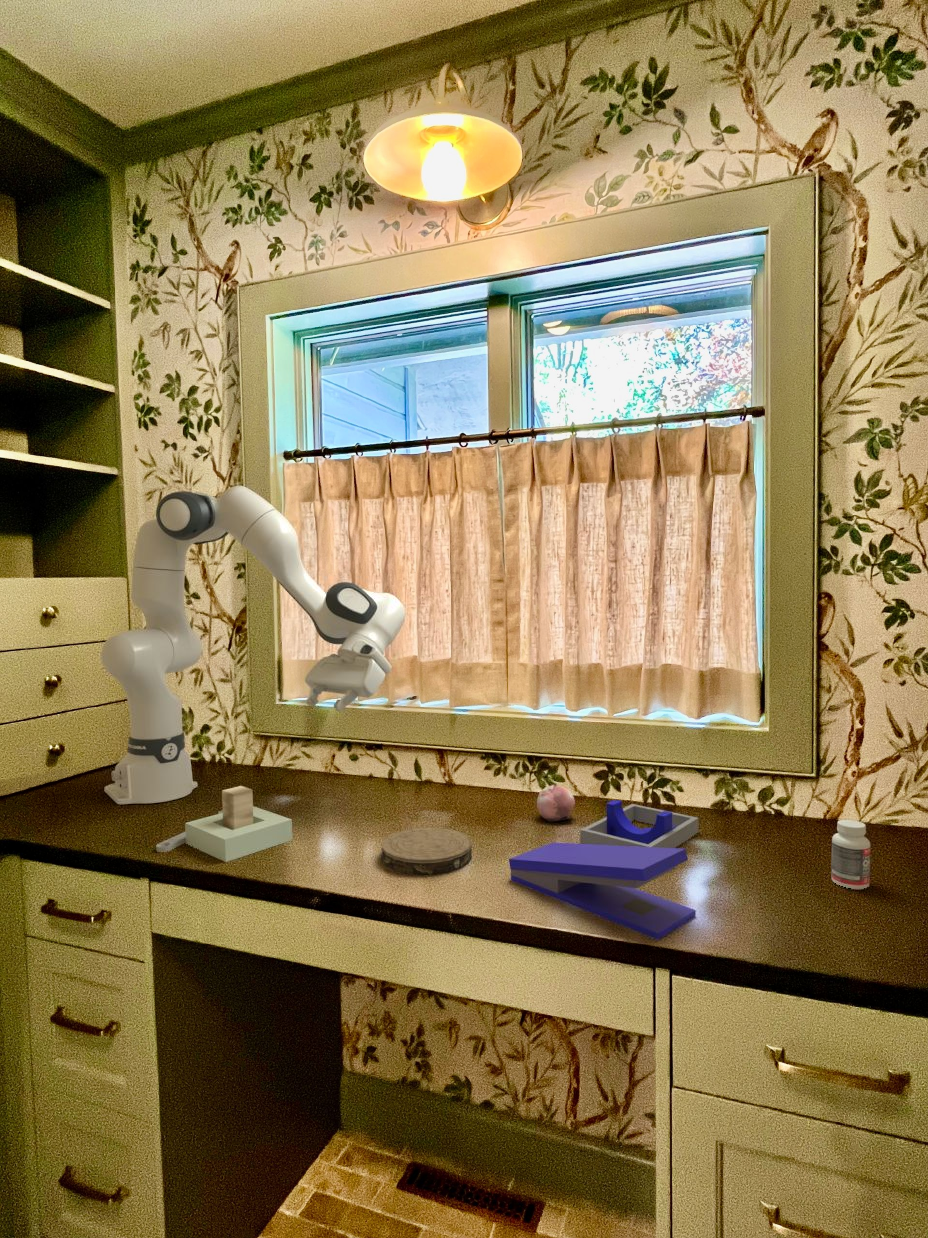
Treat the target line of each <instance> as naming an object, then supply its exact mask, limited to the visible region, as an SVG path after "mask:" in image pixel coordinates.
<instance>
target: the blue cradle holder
mask: <svg viewBox="0 0 928 1238" xmlns="http://www.w3.org/2000/svg"><path fill="white" fill-rule="evenodd" d="M622 802H623V800H618V799H614V800H611V801H609V802H607V803H606V817H607V834H608V835H612V836H616V837H620V838H624V839H628V840H632V841H636V842H640V843H644V844H650V843H651V842H653V841H654V840H656V839H658V838H659V837H661V836H663V835H664V834H666V833H668V832H669V831H671V830H673V829H675V828H676V827H675V826H672V812H673V811H668V812H667V810H664V811H663V812H661V813H659V814H657V818H656V823H655V825H653V827H645V828H643V829H642V828H639V827H637V826H636V825H634V824H633V822H630V821H629V820H628V819H627V817H626V816H625V814H624V811H623V808H624V807H623V803H622Z"/></svg>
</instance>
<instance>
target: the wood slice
mask: <svg viewBox="0 0 928 1238" xmlns="http://www.w3.org/2000/svg"><path fill="white" fill-rule="evenodd" d="M472 850H473V848H472V841H471V837H469V836H468V835H467V834H465V833H464V832H461V831H458V830H454V829H449V828H443V827H418V828H410V829H406V830H402V831H397V832H395V833H392V834H391V835H389V836H387V837H386V838H385V839H383V841H382V846H381V856H382V857H381V862H382V863H383V865H384V866H385V867H386V868H387V869H389V870H391V871H393V872H395V873H399V874H401V875H408V876H418V877H424V876H426V877H427V876H429V877H430V876H440V875H446V874H450V873H453V872H457V871H460V870H461V869H463V868H465V867H466V866H469V864H470V863H471V861H472V859H473V858H472V857H473V856H472V854H473V851H472Z"/></svg>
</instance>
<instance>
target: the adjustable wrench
mask: <svg viewBox="0 0 928 1238" xmlns="http://www.w3.org/2000/svg"><path fill="white" fill-rule="evenodd" d="M217 812H218V813H217V814H220V813H223V809H222V810H220V811H219V810H218V811H217ZM183 843H185V844H186V833H185V831H183V832H181V833H179V834H177V835H175V836H172V837H171V838H168V839H166V840H164V841H161V842H160V843H158V844H156V846H155V847H156V851H157V853H158V852H164V853H168V852H170V851H172V849H173V850H174V848H175V849H176V847H177V846H179V847H180V845H181V844H183ZM183 845H184V844H183ZM181 846H182V845H181ZM177 848H178V847H177ZM167 851H168V852H167Z"/></svg>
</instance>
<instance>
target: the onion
mask: <svg viewBox="0 0 928 1238" xmlns="http://www.w3.org/2000/svg"><path fill="white" fill-rule="evenodd" d="M536 806H537V810H538V813H539V814H540V816H541V817H542V818H543V819H544V820H546V821H548V823H553V822H558V821H565V820H568V819H571V817H570V813H572V811H573V810H574V809H575V806H576V800H575V798H574V795H573V794H572V793H571V791H569V789H566V788H565V787H563V786H559V785H555V784H551V785H550V786H546V787H544V788H543V789H542V790H541V791H539V793H538V797H537V799H536Z"/></svg>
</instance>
